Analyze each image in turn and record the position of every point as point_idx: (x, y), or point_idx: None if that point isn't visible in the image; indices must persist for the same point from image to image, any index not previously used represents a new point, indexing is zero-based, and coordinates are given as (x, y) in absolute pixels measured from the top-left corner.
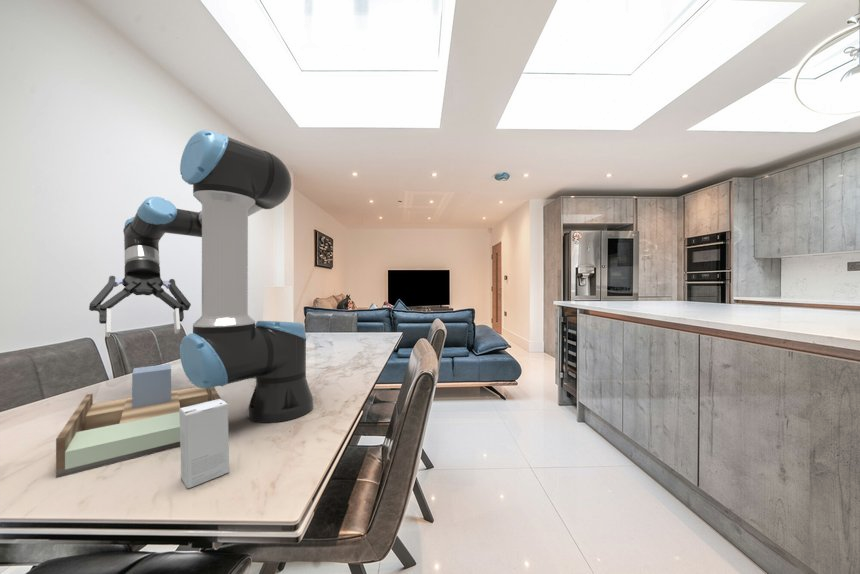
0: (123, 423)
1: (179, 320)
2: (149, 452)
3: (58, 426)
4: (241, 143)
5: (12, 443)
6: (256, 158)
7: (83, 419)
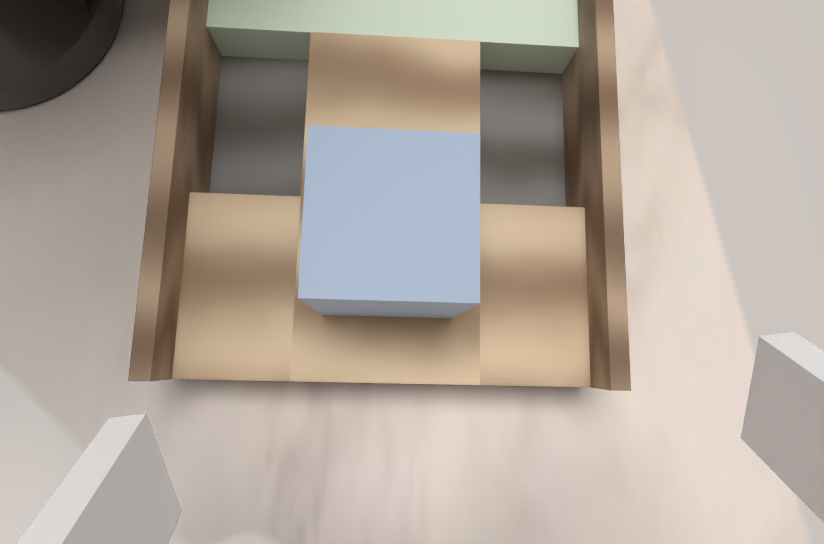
0: (469, 35)
1: (31, 524)
2: None
3: (652, 393)
4: None
5: (727, 296)
6: None
7: (583, 165)
